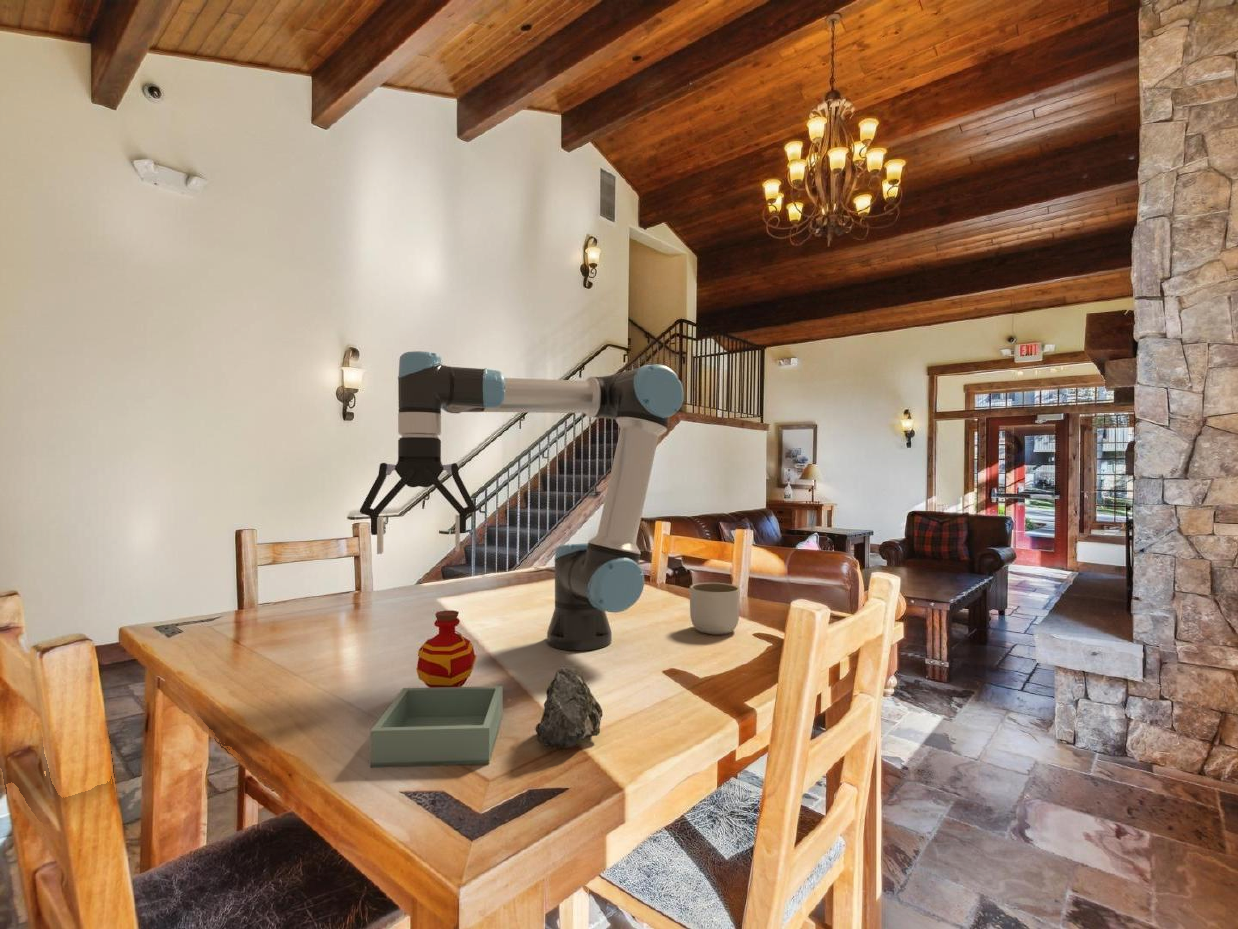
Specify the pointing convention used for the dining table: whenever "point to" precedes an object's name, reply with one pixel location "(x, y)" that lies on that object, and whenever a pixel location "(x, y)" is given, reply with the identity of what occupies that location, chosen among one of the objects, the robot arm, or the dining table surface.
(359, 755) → the dining table surface
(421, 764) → the bin
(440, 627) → the potion bottle
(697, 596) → the planter
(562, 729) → the rock
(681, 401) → the robot arm
